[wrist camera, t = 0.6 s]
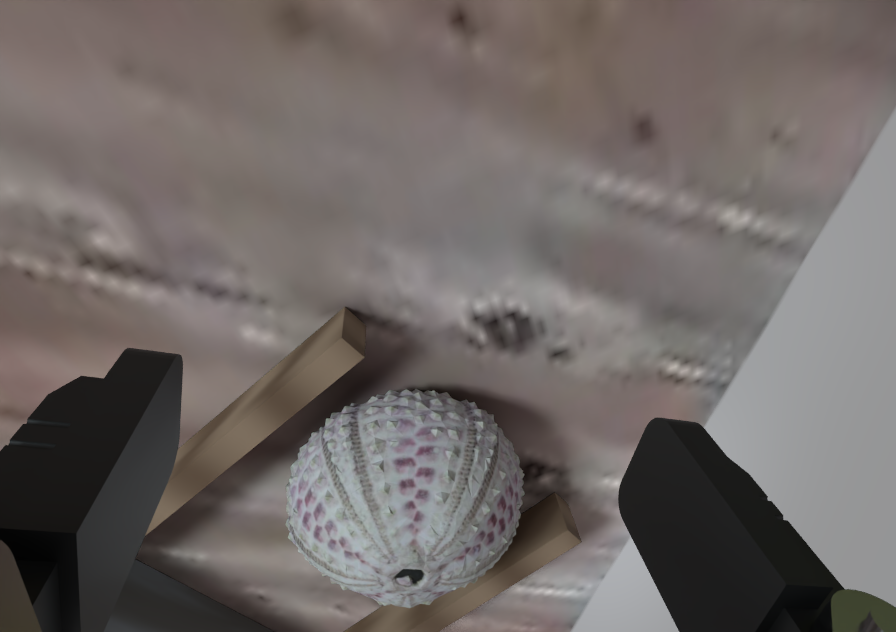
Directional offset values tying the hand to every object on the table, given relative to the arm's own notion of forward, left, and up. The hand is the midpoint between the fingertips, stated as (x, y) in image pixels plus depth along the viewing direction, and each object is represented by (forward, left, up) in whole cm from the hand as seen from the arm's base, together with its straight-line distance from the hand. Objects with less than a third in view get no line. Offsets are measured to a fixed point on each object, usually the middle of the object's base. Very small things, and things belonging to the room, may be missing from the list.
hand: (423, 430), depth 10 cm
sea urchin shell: (+12, +14, -19) cm, 27 cm away
